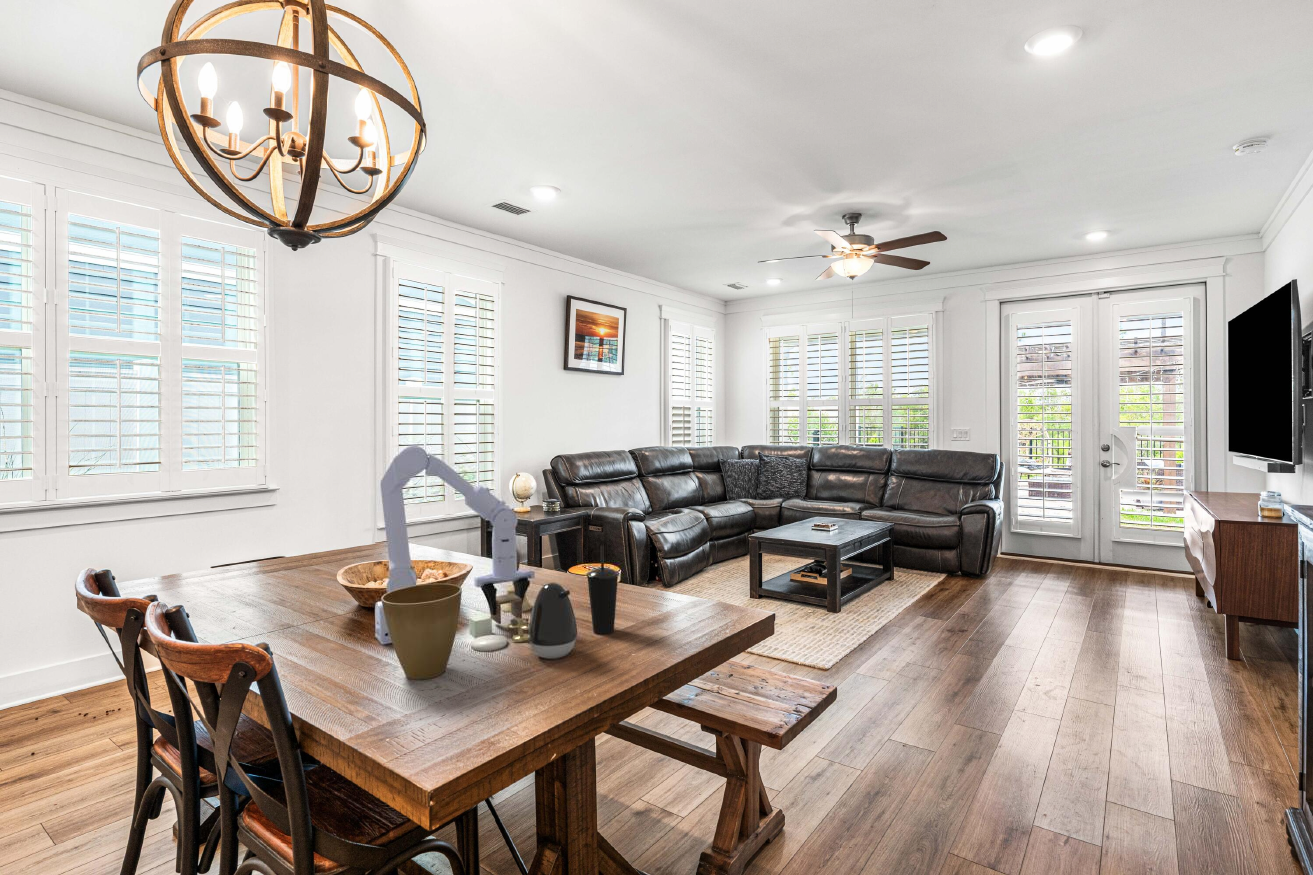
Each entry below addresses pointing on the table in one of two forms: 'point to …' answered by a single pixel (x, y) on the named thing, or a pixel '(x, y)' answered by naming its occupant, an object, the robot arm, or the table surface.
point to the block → (480, 625)
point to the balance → (519, 629)
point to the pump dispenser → (552, 623)
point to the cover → (515, 606)
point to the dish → (489, 643)
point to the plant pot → (423, 626)
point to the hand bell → (507, 607)
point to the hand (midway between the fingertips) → (505, 611)
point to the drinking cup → (603, 597)
